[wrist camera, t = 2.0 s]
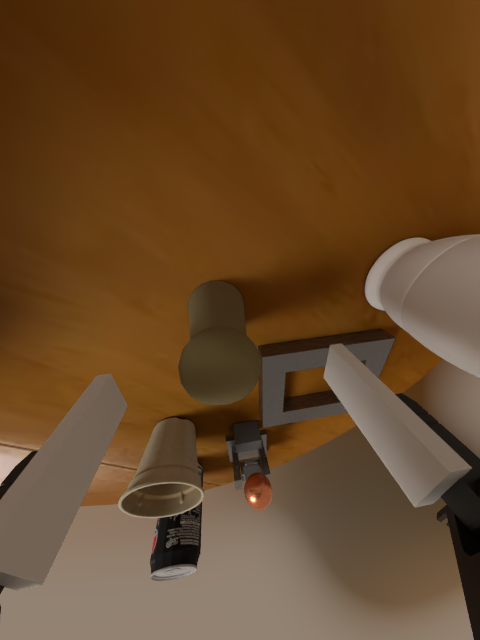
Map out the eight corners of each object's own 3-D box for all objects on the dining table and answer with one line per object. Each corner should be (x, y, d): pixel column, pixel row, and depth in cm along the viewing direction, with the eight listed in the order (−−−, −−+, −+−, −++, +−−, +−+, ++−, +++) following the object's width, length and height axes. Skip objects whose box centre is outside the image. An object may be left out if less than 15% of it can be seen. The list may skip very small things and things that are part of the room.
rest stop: (234, 432, 31) (236, 453, 29) (233, 424, 30) (235, 444, 27) (257, 428, 32) (261, 448, 29) (256, 420, 31) (261, 440, 28)
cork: (254, 295, 20) (294, 363, 10) (228, 337, 22) (242, 427, 12) (202, 269, 18) (191, 325, 8) (179, 319, 20) (151, 409, 10)
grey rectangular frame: (259, 414, 30) (262, 427, 28) (258, 346, 23) (262, 357, 21) (356, 398, 32) (365, 409, 30) (381, 329, 25) (395, 338, 23)
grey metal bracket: (229, 457, 35) (232, 495, 30) (226, 436, 32) (228, 476, 27) (265, 450, 36) (273, 486, 31) (265, 429, 32) (275, 466, 27)
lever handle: (257, 456, 32) (261, 478, 31) (239, 459, 32) (242, 481, 30) (271, 472, 19) (279, 511, 18) (241, 478, 19) (246, 518, 17)
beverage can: (178, 479, 36) (164, 583, 26) (159, 465, 33) (135, 578, 23) (209, 468, 36) (208, 569, 26) (193, 453, 33) (184, 562, 22)
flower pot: (218, 425, 30) (220, 493, 22) (179, 451, 32) (169, 523, 24) (171, 400, 26) (155, 474, 18) (130, 432, 28) (100, 511, 20)
